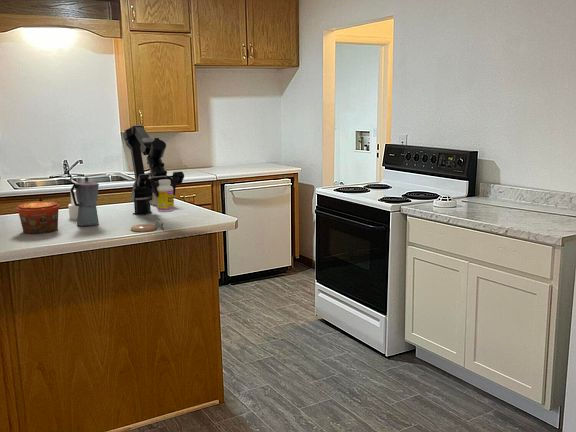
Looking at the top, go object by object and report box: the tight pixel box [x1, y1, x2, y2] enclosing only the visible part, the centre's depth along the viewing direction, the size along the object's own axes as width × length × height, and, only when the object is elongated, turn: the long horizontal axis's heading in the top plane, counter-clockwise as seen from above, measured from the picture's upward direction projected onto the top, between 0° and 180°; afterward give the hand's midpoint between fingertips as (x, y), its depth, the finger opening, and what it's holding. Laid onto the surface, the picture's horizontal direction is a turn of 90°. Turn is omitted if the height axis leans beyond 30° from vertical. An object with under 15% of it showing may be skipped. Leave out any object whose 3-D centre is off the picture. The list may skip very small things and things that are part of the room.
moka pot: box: [70, 177, 100, 227], centre depth 235 cm, size 10×15×20 cm, turn 161°
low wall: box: [155, 218, 164, 231], centre depth 231 cm, size 10×1×2 cm, turn 26°
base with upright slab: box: [68, 189, 79, 220], centre depth 252 cm, size 9×9×12 cm
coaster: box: [130, 223, 157, 233], centre depth 228 cm, size 10×10×1 cm
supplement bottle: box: [156, 179, 175, 213], centre depth 229 cm, size 7×7×13 cm
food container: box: [15, 201, 61, 235], centre depth 226 cm, size 16×16×11 cm
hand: (166, 195), depth 228 cm, fingers closed on supplement bottle, 7 cm apart
